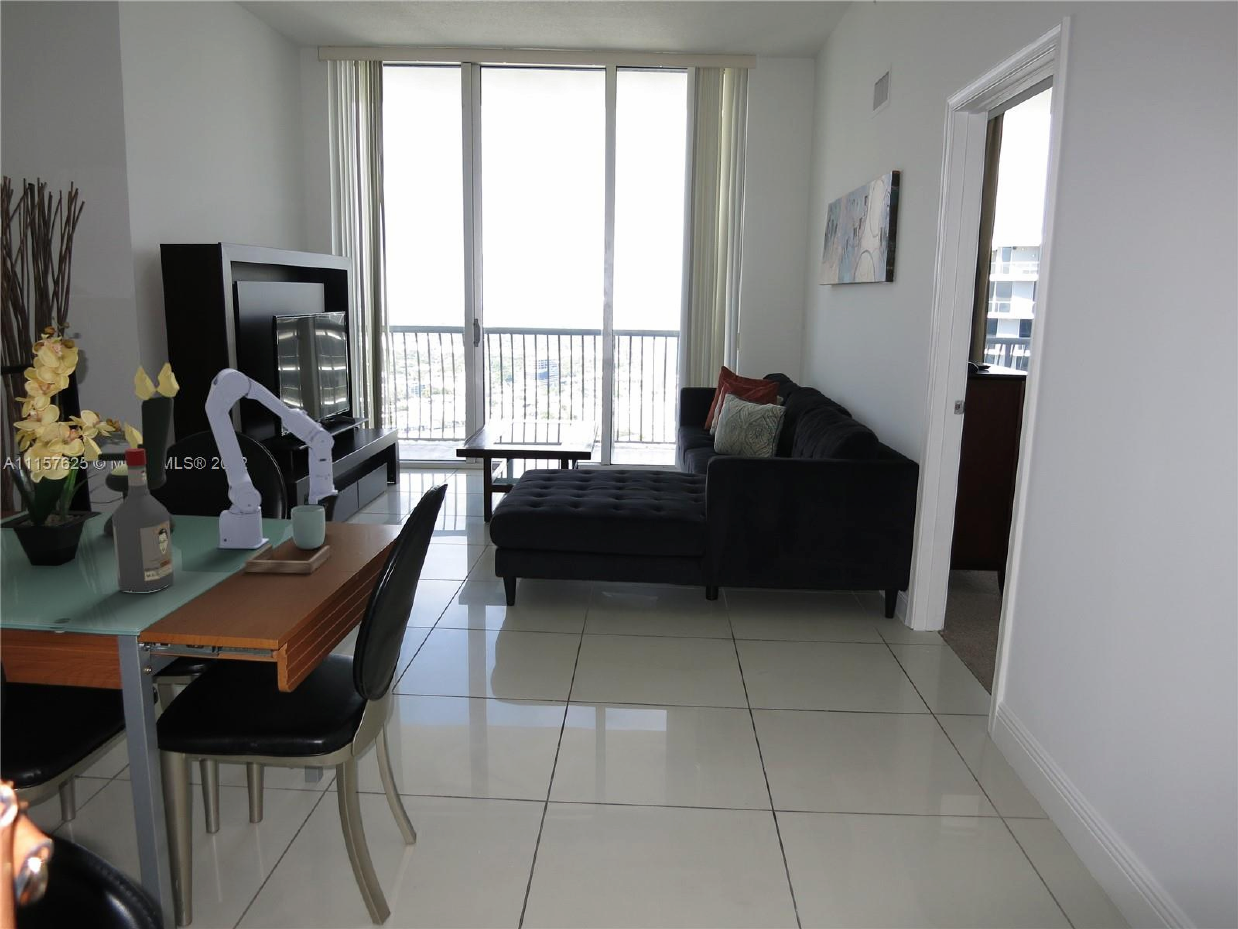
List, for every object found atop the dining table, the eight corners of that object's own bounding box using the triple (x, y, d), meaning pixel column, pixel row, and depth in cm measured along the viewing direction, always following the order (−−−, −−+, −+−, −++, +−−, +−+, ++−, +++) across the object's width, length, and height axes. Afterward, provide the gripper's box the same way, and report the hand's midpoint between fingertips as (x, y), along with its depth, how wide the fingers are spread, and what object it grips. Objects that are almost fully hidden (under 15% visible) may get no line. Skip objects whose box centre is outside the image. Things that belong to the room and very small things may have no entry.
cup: (331, 543, 223) (329, 505, 221) (317, 552, 215) (315, 513, 213) (301, 542, 223) (299, 504, 222) (287, 550, 216) (285, 511, 214)
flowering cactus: (133, 521, 240) (119, 357, 232) (209, 525, 238) (197, 359, 229) (84, 539, 222) (67, 362, 213) (166, 544, 219) (152, 364, 211)
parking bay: (245, 571, 199) (245, 561, 199) (268, 554, 212) (268, 544, 212) (311, 573, 199) (311, 562, 199) (330, 555, 212) (330, 545, 212)
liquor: (112, 593, 184) (99, 453, 178) (139, 579, 192) (127, 445, 187) (154, 595, 183) (142, 454, 177) (179, 581, 192) (168, 447, 186)
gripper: (327, 480, 220) (329, 532, 222) (344, 469, 234) (346, 518, 237) (299, 479, 220) (301, 531, 222) (318, 468, 234) (320, 517, 236)
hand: (323, 524), depth 229 cm, fingers open, 7 cm apart
